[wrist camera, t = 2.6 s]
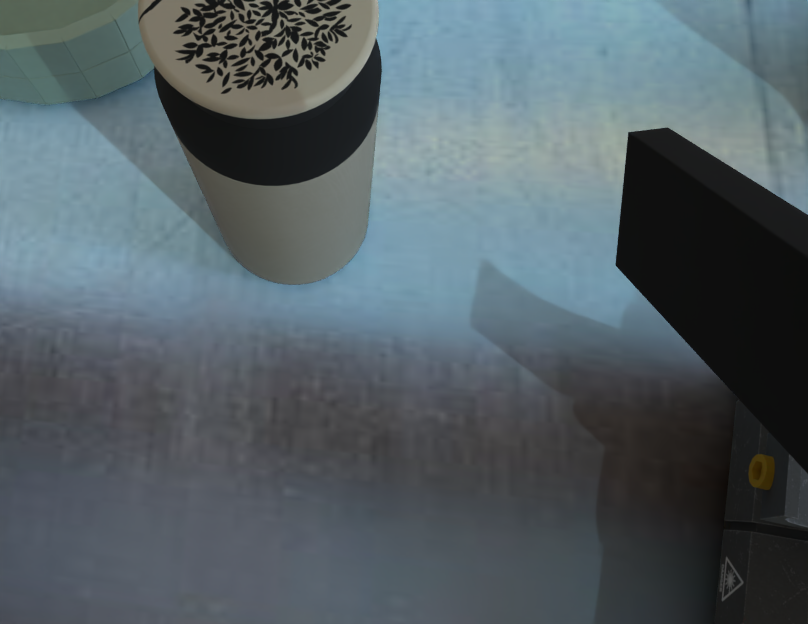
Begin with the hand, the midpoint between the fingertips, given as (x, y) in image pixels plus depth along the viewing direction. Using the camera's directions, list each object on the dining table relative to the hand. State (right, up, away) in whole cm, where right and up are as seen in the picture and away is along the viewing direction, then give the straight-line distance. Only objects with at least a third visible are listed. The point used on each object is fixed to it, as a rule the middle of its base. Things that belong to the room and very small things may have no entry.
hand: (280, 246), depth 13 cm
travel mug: (-4, +4, +28) cm, 28 cm away
